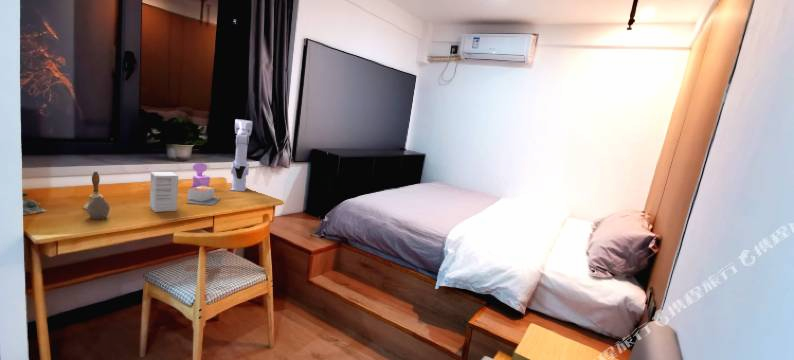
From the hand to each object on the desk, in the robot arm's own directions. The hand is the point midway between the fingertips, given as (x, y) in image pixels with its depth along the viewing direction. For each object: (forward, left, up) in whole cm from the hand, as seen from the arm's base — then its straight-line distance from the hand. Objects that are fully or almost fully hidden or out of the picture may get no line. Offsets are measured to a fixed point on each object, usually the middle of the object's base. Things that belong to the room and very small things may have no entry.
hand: (239, 178), depth 201 cm
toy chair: (-9, -23, -11) cm, 27 cm away
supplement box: (+35, -25, -11) cm, 44 cm away
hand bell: (+41, -49, -11) cm, 65 cm away
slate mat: (+16, -13, -10) cm, 23 cm away
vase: (+54, -41, -11) cm, 69 cm away
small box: (+8, -14, -7) cm, 18 cm away
